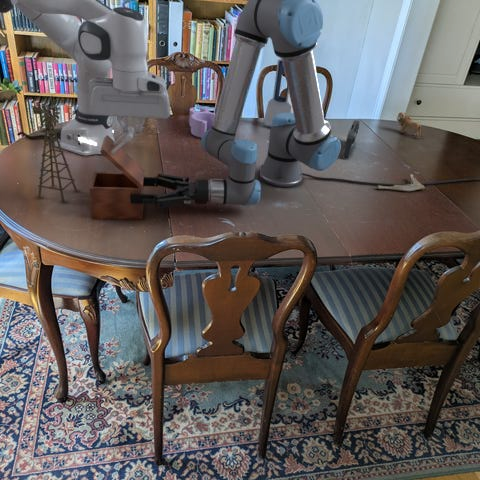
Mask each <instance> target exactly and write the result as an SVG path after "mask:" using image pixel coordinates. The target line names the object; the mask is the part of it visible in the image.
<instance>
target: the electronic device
mask: <svg viewBox="0 0 480 480" xmlns="http://www.w3.org/2000/svg"><path fill="white" fill-rule="evenodd" d="M276 63H277V64H276V72H275V79H274V87H273V88H274V89H273V95H272V98H271V99H270V100H268V102H267V106H266V111H265V114H264V118H263V125H264V126H265V127H266V128H271V124H272V119H273V117H274V116H275V115H277V114H281V113H293V108H292V104H291V99H290V95H289V90H288V85H287V84H286V91H285V92H286V93H285V97H283V96H281V95H280V94H281V93H280V92H281V85H282V77H283V72H284V67H283V62H282V58H280V57H279V59H278V60H277V62H276Z"/></svg>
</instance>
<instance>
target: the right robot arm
mask: <svg viewBox="0 0 480 480" xmlns="http://www.w3.org/2000/svg"><path fill="white" fill-rule="evenodd" d="M239 14H240V15H239V17H238V20H237V23H236V24H235V25H236V26H235V28H234V31H233V36H234V38H235V43H234V47H233V49H232V53H231V57H230V60H229V64H228V68H227V70H226V74H225V78H224V82H223V85H222V89H221V92H220V95H219V96H220V97H219V100H218V104H217V107H216V111H215V117H214V121H213V124H212V128H211V129H207V131H206V132H205V133H204V135H203V136H202V138H201V137H200V138H201V139H200V145H201V147H202V149H203V150H204V151H205V152H206V153H207V154H208V155H209V156H210V157H213V158H215V159H216V160H218V161H219V162H220V163H222V164H223V165H225V166H226V167H228V168H229V169H228V170H229V173H228V178H210V179H207V178H195V179H194V182H190V176H189V177H188V176H177V175H171V174H165V173H157V175H156V176H154V177H153V176H144V180H143V187H153V188H154V187H155V188H157V187H162V188H166V189H169V190H172V191H170V192H167V193H162V194H158V195H157V194H156V193H154V194H153V193H143V194H130V203H131V204H143V205H154V206H155V208H156V209H157V210H160V209H161V210H162V209H168V208H175V207H176V208H177V207H191V205H192V201H194V204H196V205H206V204H208V203H209V205H216V206H217V205H233V206H234V205H235V206H236V205H237V206H253V205H257V204H259V202H260V200H261V190H262V187H261V183H260V181H259V180H257V179H255V177H256V176H255V175H256V168H257V160H258V145H257V143H256V142H255V141H253V140H249V139H247V138H238V139H235V138H236V134H237V130H238V127H239V125H240V120H241V117H242V114H243V111H244V108H245V105H246V101H247V97H248V94H249V91H250V89H251V84H252V81H253V78H254V75H255V71H256V69H257V65H258V61H259V58H260V55H261V52H262V49H264V48H265V47H266V46H267V45H268V42H269V39H270V40H271V45H272V49H273V52H274V55H275V57H278V58H279V59H280V58H282V62H283V72H284V76H285V82H286V86H287V85H288V90H289V95H290V99H291V104H292V108H293V113H281V114H277V115H275V116H274V117H273V119H272V124H271V127H270V130H269V140H268V145H267V154H266V158H265V159H264V162H263V164H262V165H261V167H260V170H259V178H260V180H262V181H263V182H264V183H266V184H268V185H271V186H274V187H278V188H293V187H297V186H299V185H300V184H302V181H303V176H305V177H307V178H310V179H311V178H312V179H315V180H320V181H321V180H324V181H338V182H345V183H352V184H359V185H360V184H362V185H370V186H378V185H380V186H387V187H393V186H394V185H409V184H410V185H411V183H381V182H368V181H360V180H352V179H344V178H335V177H322V176H315V175H312V174H310V173H309V174H308V173H306V172H305V173H304V172H303V170H302V164H304V165H305V166H307V167H308V168H309V169H313V170H315V171H317V172H323V171H325V170H327V169H329V168H330V167H331V166H332V165H333V164H334V163H335V162H336V161H337V159H338V157H339V155H340V154H341V149H342V144H341V141H340V139H338V137H336V136H333V134H332V127H331V124H330V122H329V121H328V120H326V119H325V117H324V110H323V105H322V99H321V98H322V97H321V93H320V87H319V86H320V85H319V81H318V75H317V67H316V63H315V56H314V49H315V48H316V47H317V45H318V40H319V38H320V37H321V34H322V32H321V30H323V29H324V28H323V27H324V15H323V10H322V9H321V6H320V4H319V3H318V2H317V1H316V0H248V1H247V2H246V3H245V5H244V6H243V8H242V10H241V12H240V13H239ZM473 181H480V178H477V177H476V178H461V179H450V180H441V181H432V182H431V181H430V182H420V183H421V184H422V185H424V186H428V185H429V186H430V185H440V184H448V183H457V182H458V183H459V182H473Z"/></svg>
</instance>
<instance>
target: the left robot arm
mask: <svg viewBox="0 0 480 480" xmlns="http://www.w3.org/2000/svg"><path fill="white" fill-rule="evenodd" d="M15 7H16V8H17V9H18V10H19V12H20V13H22V15H23V16H24V17H26V18H27V19H28V20H29V21H30V23H32V24H33V25H34V26H35V27H36V28H37V29H38V30H39V31H41V33H43V34H44V35H45V36H46V37H47V38H48V39H49V40H50V41H52V42H53V43H54V44H55V45H56V46H57V47H59V48H60V50H62V51H63V52H64V53H65V54H66V55H67V56H68V57H69V58H71V59H72V60H73V61H74V63H76V66H77V67H76V68H77V81H76V87H75V88H76V99H77V108H76V109H75V110H74V111H71V115H72V116H74V115H75V116H74V118H73V119H72V120H71V121H69V122H68V123H67V124H65V125H64V126H63V127H60V129H62V130H61V131H59V132H58V133H56V135H57V138H59V139H58V140H59V143H60V146H61V148H62V150H65V151H69V152H72V153H74V154H78V155H80V156H84V157H85V156H86V157H87V156H92V155H103V154H102V153H101V152H100V151H101V147H102V144H103V141H104V138H105V137H106V136H107V135H108V136H109V137H110V138H111V139H112V140H113V141H114V142H115V141H116V140H115V135H114V132H115V131H114V130H113V117H116V121H117V122H118V124H119V126H121V133H127V132H128V127H129V125H128V124H127V123H126V124H125V122H124V121H123V119H124V117H126V118H139V122H140V123H139V124H136V125H135V133H136V134H142V133H143V126H144V124H145V123H146V121H147V119H159V120H160V119H161V120H167V119H169V117H170V116H171V102H170V95H169V92H168V90H167V89H166V83H167V82H166V79H165V78H164V77H162V76H159V75H158V74H154V73H152V72H150V71H149V66H148V62H147V56H148V51H149V42H148V28H147V23H146V19H145V17H144V15H143V14H142V13H141V12H140V11H138V10H136V9H133V8H129V7H124V6H117V7H114V8H111V7H109V6H108V5H106V4H105V3H103V2H102V1H100V0H0V14H8V12H10V11H12V10H13V9H14V8H15ZM80 19H81V20H84V21H83V22H82V21H81V20H80ZM111 76H112V78H111ZM21 135H22V136H24V137H26V139H27V138H28V139H31V140H33V139H34V140H35V139H40V138H45V134H39V135H29V134H27V133H26V132H24V131H19V132H18V133H17V134H16V136H21ZM48 136H49V135H47V137H48ZM52 137H55V135H54V134H52ZM52 139H53V138H52ZM47 140H49V138H47ZM53 140H54V139H53ZM54 147H57V148H59V146H58V143H57V141H55V142H54Z"/></svg>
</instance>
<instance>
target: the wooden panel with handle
mask: <svg viewBox="0 0 480 480" xmlns="http://www.w3.org/2000/svg"><path fill="white" fill-rule="evenodd" d="M134 131H135V128H134V127H133V126H128V132H127V133H126V132H123V134H122V135H121V136H119V137H118V139H116V140H115V142H114V141H113V140H112V139H111V138H110V137H109V136H108V135H107V136H106V137H105V138H104V141H103V144H102V147H101V151H100V152H101V153H102V154H101V155H102V156H104V157H105V158H106V160H108V161H109V162H110V163H111V164H112V165H114V167H115V168H116V169H118V170H119V171H120V173H123V174H125V175H126V176H127V177H128V178H129V179H130V180H131V181H132V182H133V183H134V184H135V185H137V186H138V187H139V188H141V187H142V186H143V180H144V177H145V169H144V168H143V167H142V166H141V165H140V164H139V163H137V162H136V160H134V158H132V157H131V156H130V154H129V153H127V151H125V150H124V149H123V148H122V146H124V145H125V144H126V143H127V142H128V143H131V142H132V141H133V138H134ZM143 187H144V186H143Z"/></svg>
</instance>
